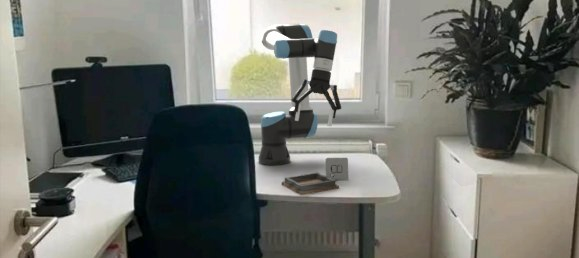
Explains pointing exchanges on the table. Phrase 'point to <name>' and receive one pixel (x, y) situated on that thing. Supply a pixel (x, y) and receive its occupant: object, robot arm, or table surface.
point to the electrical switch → (337, 168)
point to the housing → (310, 183)
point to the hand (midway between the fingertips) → (313, 123)
